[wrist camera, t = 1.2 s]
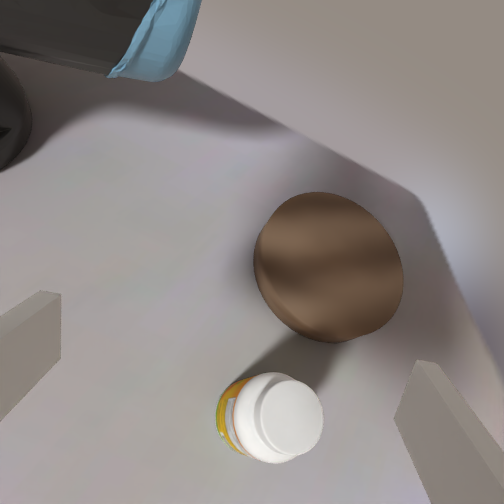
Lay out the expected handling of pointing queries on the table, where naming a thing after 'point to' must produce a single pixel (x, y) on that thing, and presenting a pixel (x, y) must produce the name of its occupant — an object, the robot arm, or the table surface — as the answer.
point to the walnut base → (328, 268)
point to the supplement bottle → (269, 417)
